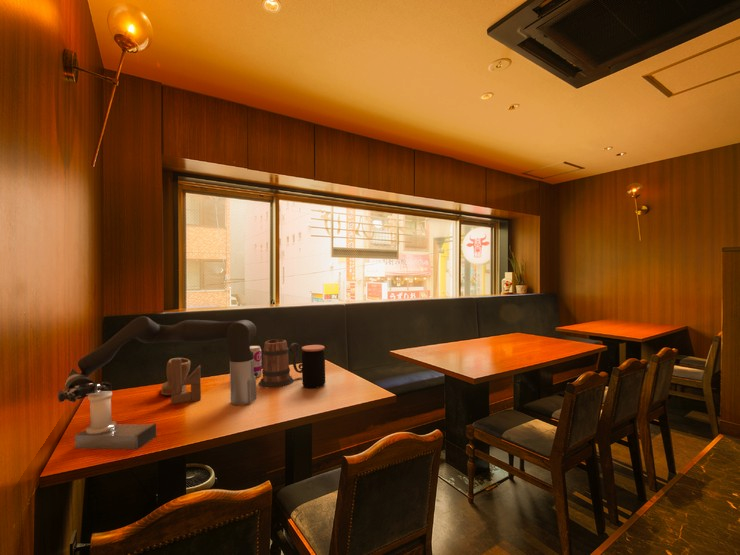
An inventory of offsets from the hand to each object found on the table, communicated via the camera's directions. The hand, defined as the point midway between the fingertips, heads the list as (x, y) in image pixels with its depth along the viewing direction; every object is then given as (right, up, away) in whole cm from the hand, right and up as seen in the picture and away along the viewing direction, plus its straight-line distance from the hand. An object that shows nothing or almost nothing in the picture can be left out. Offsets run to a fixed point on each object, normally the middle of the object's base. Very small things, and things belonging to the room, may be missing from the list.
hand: (90, 395), depth 118 cm
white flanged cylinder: (+9, -7, -7) cm, 13 cm away
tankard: (+51, -12, +55) cm, 75 cm away
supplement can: (+33, -12, +64) cm, 73 cm away
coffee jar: (+67, -11, +47) cm, 83 cm away
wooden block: (+17, -12, +29) cm, 36 cm away
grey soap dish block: (+14, -13, -7) cm, 20 cm away
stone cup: (+6, -12, +41) cm, 44 cm away
